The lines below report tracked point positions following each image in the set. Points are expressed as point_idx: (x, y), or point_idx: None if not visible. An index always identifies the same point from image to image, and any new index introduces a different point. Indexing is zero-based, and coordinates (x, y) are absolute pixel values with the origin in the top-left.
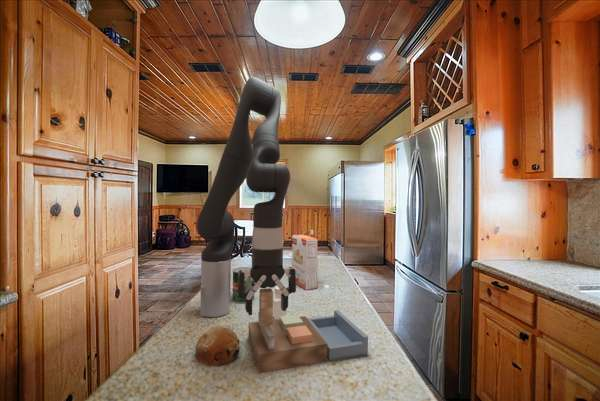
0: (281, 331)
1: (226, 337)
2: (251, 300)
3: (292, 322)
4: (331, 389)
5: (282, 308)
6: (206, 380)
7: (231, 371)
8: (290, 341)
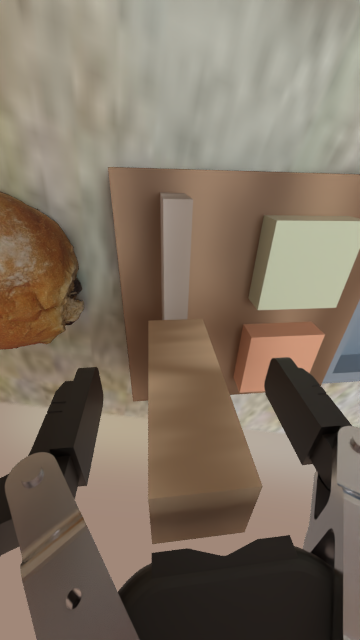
0: (235, 302)
1: (14, 337)
2: (82, 482)
3: (296, 300)
4: (250, 420)
5: (270, 387)
6: (13, 370)
7: (69, 352)
8: (235, 366)
